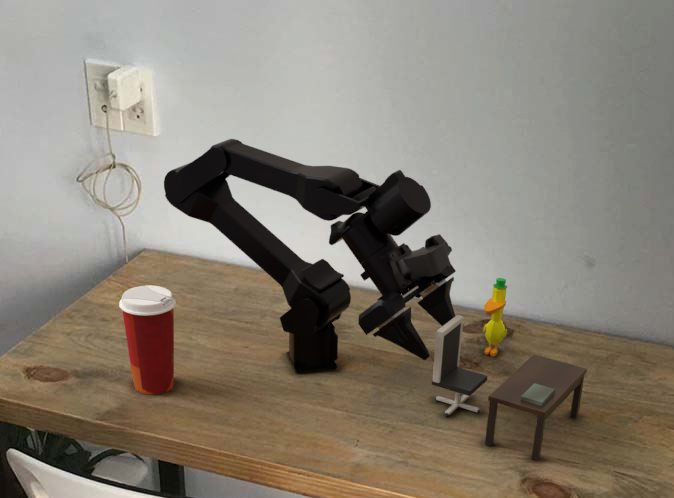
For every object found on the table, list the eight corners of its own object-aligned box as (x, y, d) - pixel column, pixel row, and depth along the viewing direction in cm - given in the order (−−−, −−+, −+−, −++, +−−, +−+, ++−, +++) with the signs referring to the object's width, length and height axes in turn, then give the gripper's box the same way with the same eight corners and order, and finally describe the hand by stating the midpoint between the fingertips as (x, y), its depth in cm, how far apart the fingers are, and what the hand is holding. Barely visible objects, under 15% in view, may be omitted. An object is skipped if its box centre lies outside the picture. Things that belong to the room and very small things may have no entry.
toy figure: (492, 364, 171) (500, 291, 164) (470, 358, 173) (478, 285, 166) (509, 348, 176) (518, 276, 169) (488, 342, 177) (496, 271, 171)
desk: (483, 445, 151) (488, 391, 146) (527, 400, 162) (534, 349, 157) (537, 462, 148) (545, 408, 143) (579, 415, 159) (587, 364, 154)
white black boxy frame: (423, 410, 158) (428, 330, 151) (446, 390, 164) (452, 312, 157) (468, 424, 155) (476, 343, 149) (490, 403, 161) (499, 324, 154)
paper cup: (191, 380, 163) (186, 290, 155) (161, 402, 157) (154, 310, 149) (146, 368, 166) (138, 279, 158) (115, 390, 160) (105, 298, 152)
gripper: (382, 242, 142) (452, 343, 144) (448, 202, 155) (512, 295, 157) (328, 285, 149) (395, 381, 151) (396, 244, 163) (457, 332, 165)
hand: (442, 345), depth 156 cm, fingers open, 9 cm apart
